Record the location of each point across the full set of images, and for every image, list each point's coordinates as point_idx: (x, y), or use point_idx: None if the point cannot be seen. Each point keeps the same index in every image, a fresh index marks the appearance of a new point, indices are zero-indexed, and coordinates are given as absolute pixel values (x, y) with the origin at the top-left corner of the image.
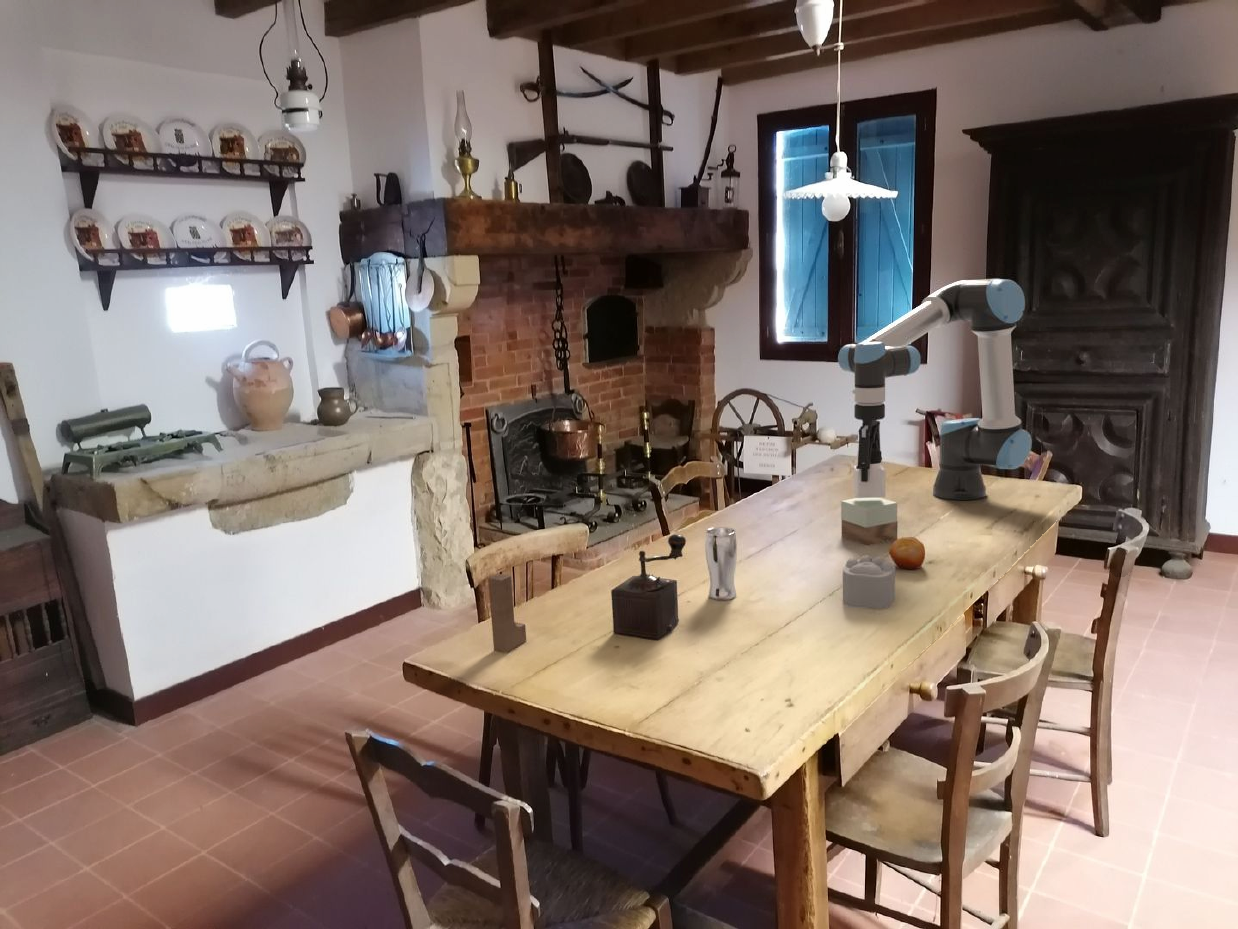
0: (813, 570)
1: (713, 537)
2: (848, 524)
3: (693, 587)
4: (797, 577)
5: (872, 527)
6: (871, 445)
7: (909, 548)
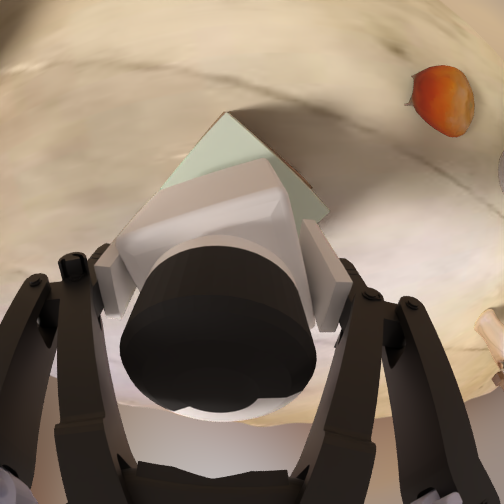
0: (442, 254)
1: None
2: None
3: (457, 349)
4: (461, 268)
5: (300, 176)
6: (354, 419)
7: (473, 101)
